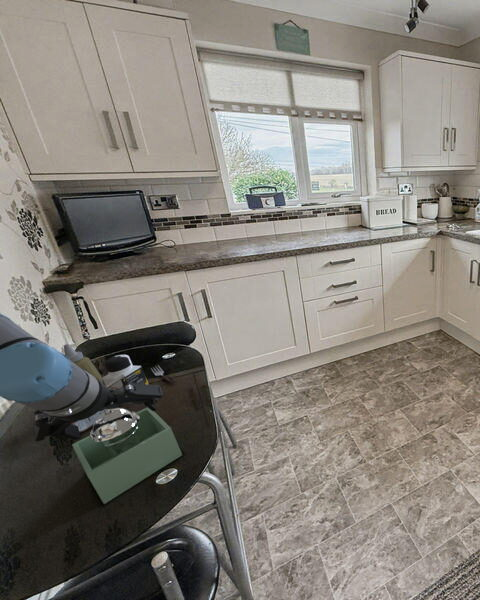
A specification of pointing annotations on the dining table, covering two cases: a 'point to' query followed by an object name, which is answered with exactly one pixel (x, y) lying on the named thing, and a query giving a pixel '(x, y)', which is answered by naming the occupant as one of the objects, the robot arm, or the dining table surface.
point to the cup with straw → (116, 428)
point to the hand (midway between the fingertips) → (117, 418)
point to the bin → (128, 457)
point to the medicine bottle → (123, 371)
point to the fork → (161, 374)
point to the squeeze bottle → (81, 361)
